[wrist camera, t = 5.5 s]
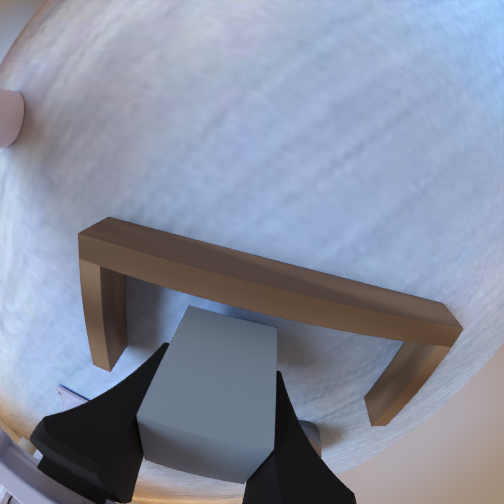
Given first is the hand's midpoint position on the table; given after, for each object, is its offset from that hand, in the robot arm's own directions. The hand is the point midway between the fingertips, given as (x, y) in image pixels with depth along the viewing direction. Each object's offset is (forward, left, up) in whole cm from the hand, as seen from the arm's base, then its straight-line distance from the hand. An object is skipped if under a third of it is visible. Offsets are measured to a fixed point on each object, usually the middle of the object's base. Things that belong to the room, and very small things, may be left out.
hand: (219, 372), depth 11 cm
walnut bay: (+1, -2, -3) cm, 4 cm away
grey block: (0, 0, -1) cm, 1 cm away
